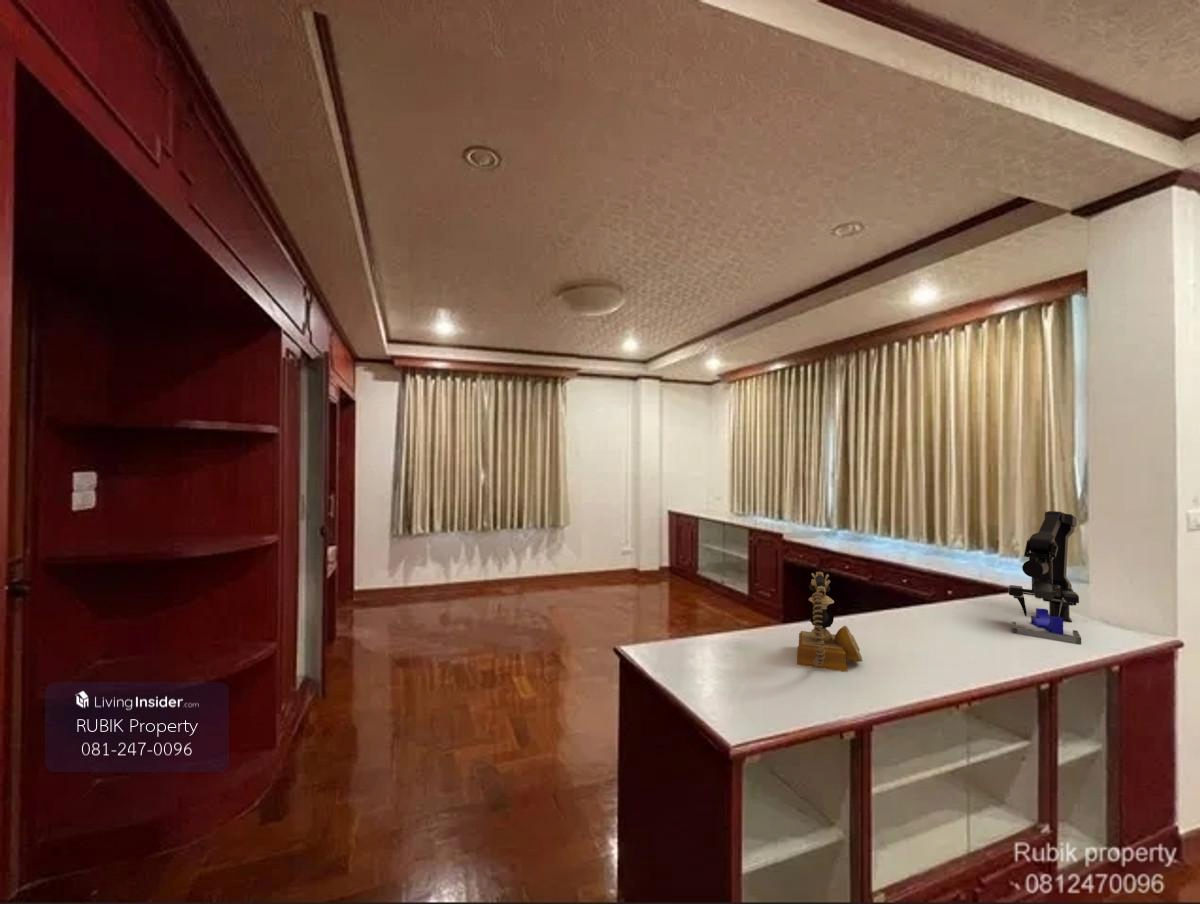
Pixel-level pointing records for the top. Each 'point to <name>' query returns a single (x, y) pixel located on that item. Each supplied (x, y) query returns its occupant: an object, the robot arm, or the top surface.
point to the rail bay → (1048, 634)
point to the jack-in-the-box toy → (825, 634)
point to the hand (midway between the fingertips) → (1042, 618)
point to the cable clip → (1047, 621)
